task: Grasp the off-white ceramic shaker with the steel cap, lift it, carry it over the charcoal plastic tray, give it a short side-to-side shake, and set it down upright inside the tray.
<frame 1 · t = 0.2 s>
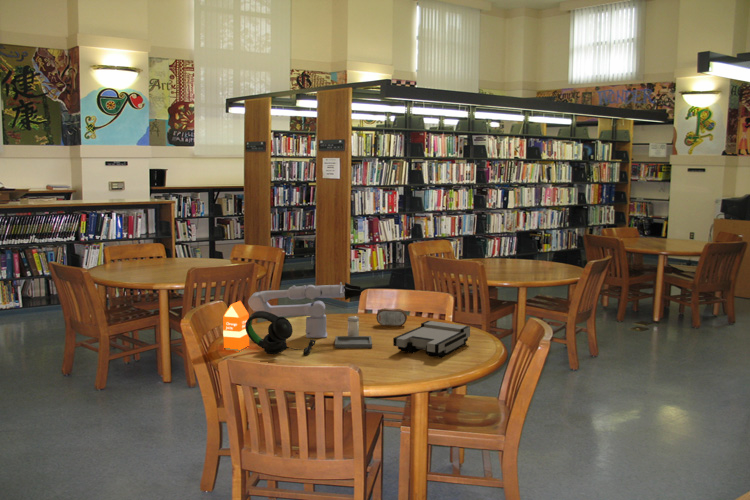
hand: (360, 290, 305), 21 cm above the table, tool horizontal, fingers open, 7 cm apart
tray: (353, 344, 293), on the table
orange juice: (236, 348, 285), on the table
headset: (279, 353, 279), on the table
game console: (432, 349, 286), on the table
tin: (391, 326, 328), on the table
shaker: (353, 336, 306), on the table
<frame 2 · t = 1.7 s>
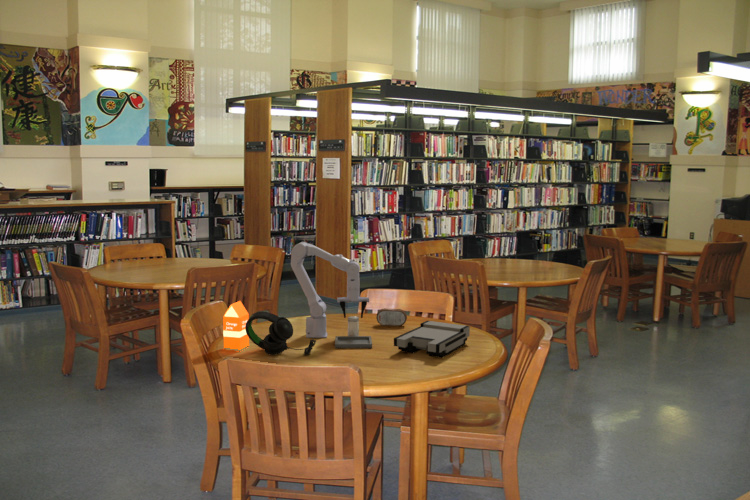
hand: (353, 317, 305), 9 cm above the table, tool pointing down, fingers open, 7 cm apart
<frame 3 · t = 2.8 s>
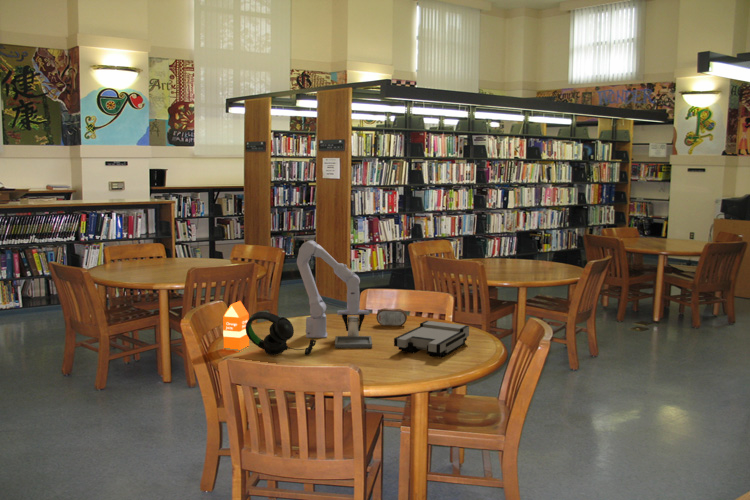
hand: (353, 330, 305), 3 cm above the table, tool pointing down, fingers closed on shaker, 5 cm apart
shaker: (353, 336, 306), on the table, touching gripper
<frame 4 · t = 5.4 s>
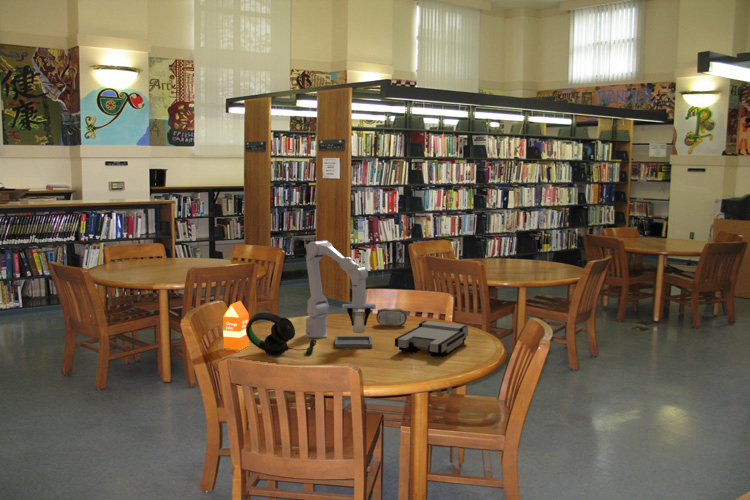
hand: (358, 325, 292), 8 cm above the table, tool pointing down, fingers closed on shaker, 5 cm apart
shaker: (358, 331, 292), point 5 cm above the table, touching gripper
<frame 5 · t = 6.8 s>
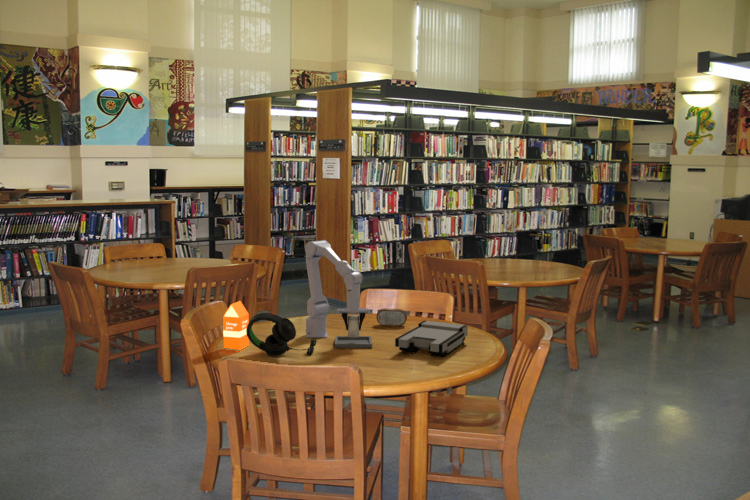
hand: (353, 329, 292), 6 cm above the table, tool pointing down, fingers closed on shaker, 5 cm apart
shaker: (353, 336, 293), point 3 cm above the table, touching gripper
when the fingers open (5 cm above the table, at t = 7.9 s): shaker drops 1 cm, resting on tray.
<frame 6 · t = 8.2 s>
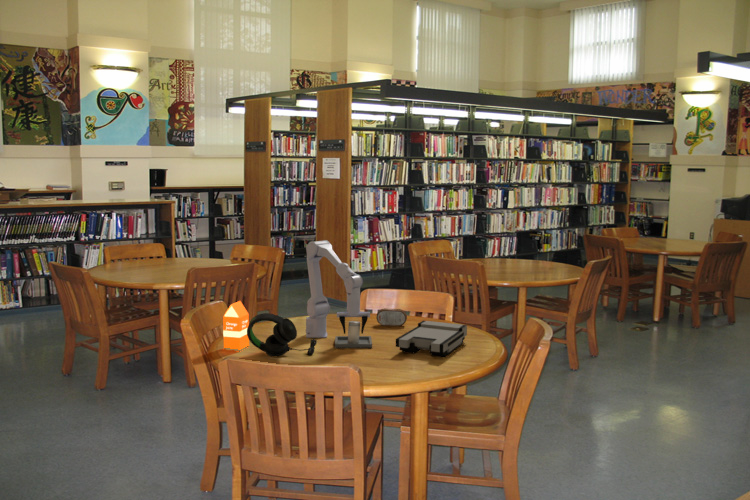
hand: (353, 333, 292), 5 cm above the table, tool pointing down, fingers open, 7 cm apart
shaker: (353, 342, 293), point 1 cm above the table, touching tray
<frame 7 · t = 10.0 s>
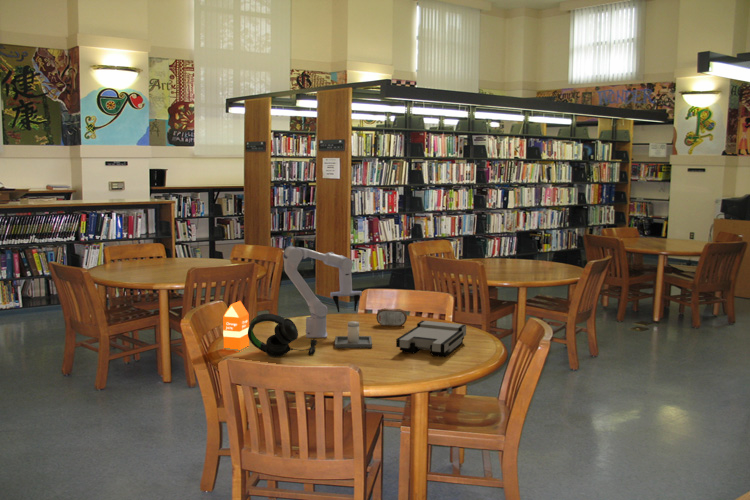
hand: (346, 311, 311), 10 cm above the table, tool pointing down, fingers open, 7 cm apart
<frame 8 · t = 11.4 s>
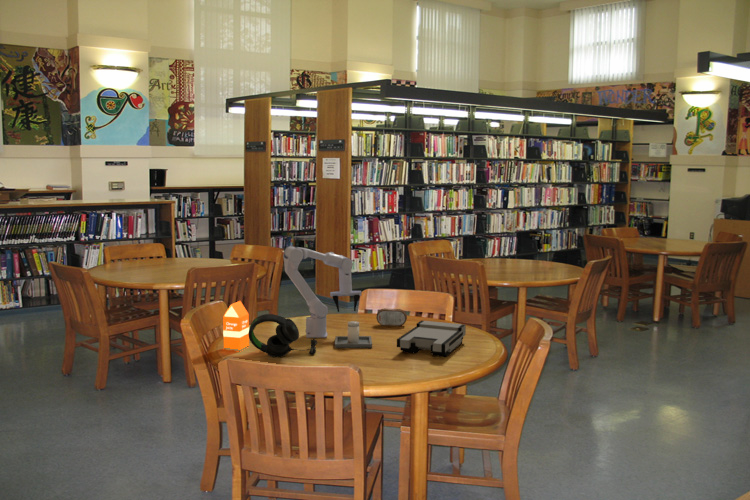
hand: (346, 311, 312), 10 cm above the table, tool pointing down, fingers open, 7 cm apart
at the end: shaker inside the target area on the tray (0.1 cm from its centre), point 0.6 cm above the tray's base; shaker tilted 0°; the gripper is holding nothing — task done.
